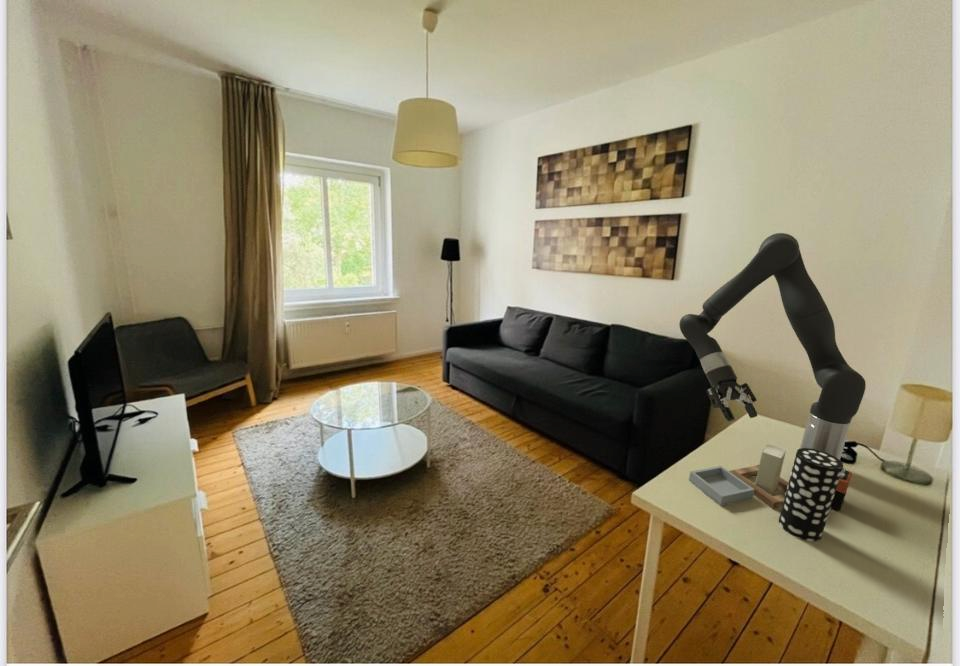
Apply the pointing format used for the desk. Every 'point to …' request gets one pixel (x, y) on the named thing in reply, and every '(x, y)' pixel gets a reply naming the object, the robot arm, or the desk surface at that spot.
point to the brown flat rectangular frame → (760, 493)
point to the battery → (841, 490)
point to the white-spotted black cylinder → (810, 493)
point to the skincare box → (770, 468)
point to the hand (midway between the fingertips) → (742, 418)
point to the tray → (721, 485)
